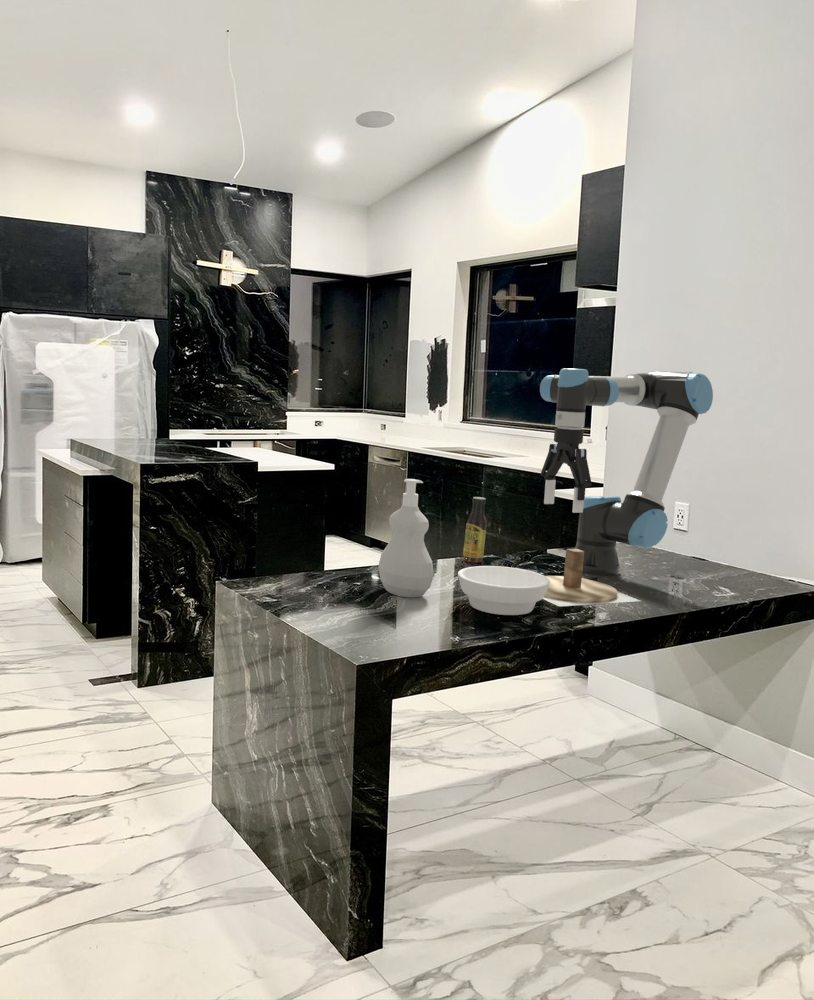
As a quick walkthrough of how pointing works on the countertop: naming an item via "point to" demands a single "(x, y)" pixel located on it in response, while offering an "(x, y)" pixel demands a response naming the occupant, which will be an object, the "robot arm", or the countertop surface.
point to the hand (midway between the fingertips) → (562, 508)
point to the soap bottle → (407, 549)
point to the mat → (619, 599)
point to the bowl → (502, 589)
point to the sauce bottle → (475, 532)
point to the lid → (578, 583)
